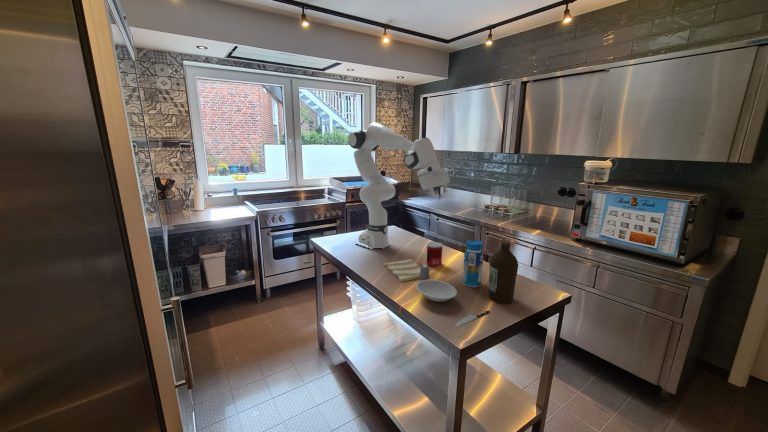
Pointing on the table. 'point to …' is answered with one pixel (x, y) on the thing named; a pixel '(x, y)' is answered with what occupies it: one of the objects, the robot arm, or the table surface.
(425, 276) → the dark grey cylinder
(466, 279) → the beverage bottle
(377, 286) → the table surface
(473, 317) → the chef's knife
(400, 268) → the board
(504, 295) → the olive oil
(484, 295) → the table surface
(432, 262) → the canned food
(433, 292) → the dish
